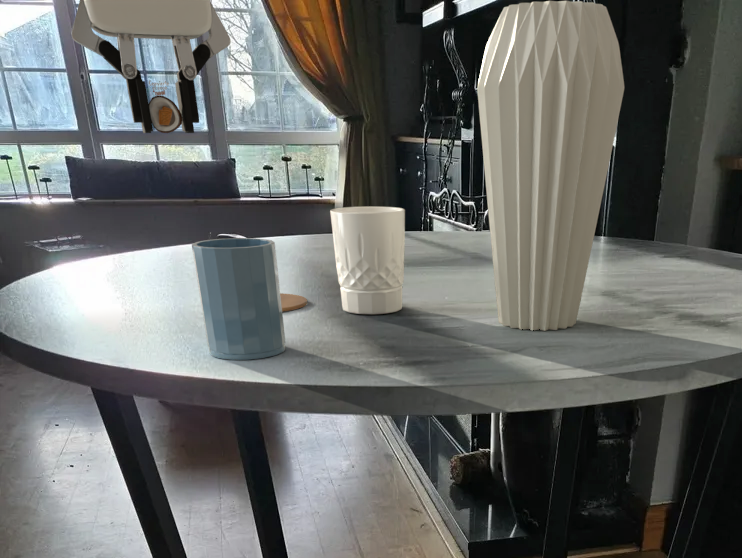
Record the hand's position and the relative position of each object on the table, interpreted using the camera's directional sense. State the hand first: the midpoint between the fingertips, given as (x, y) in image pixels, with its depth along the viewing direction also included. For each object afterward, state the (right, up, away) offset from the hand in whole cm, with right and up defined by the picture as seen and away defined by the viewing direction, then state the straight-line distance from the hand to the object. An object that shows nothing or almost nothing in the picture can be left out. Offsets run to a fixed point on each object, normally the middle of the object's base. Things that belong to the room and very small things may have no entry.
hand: (168, 130), depth 71 cm
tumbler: (+7, -20, 0) cm, 21 cm away
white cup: (+17, -10, +17) cm, 26 cm away
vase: (+35, -14, +11) cm, 39 cm away
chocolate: (0, 0, 0) cm, 0 cm away
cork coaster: (+4, -9, +19) cm, 21 cm away
